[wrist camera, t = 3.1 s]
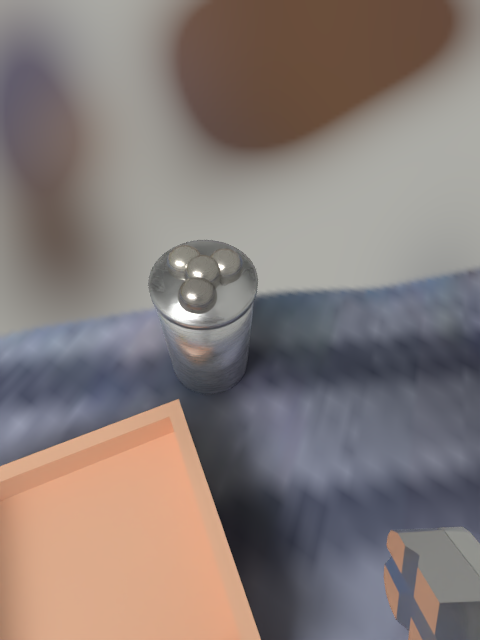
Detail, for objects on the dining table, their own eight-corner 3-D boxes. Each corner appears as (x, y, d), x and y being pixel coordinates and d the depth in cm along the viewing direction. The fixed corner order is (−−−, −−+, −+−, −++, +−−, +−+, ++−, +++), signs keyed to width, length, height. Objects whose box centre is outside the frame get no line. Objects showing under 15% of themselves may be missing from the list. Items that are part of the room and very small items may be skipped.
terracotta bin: (279, 696, 17) (292, 731, 14) (-57, 905, 14) (-147, 1018, 11) (185, 419, 24) (178, 398, 21) (-53, 513, 21) (-106, 506, 18)
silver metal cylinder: (261, 378, 26) (279, 287, 17) (185, 407, 25) (161, 325, 16) (231, 317, 29) (233, 210, 20) (162, 340, 28) (130, 237, 19)
